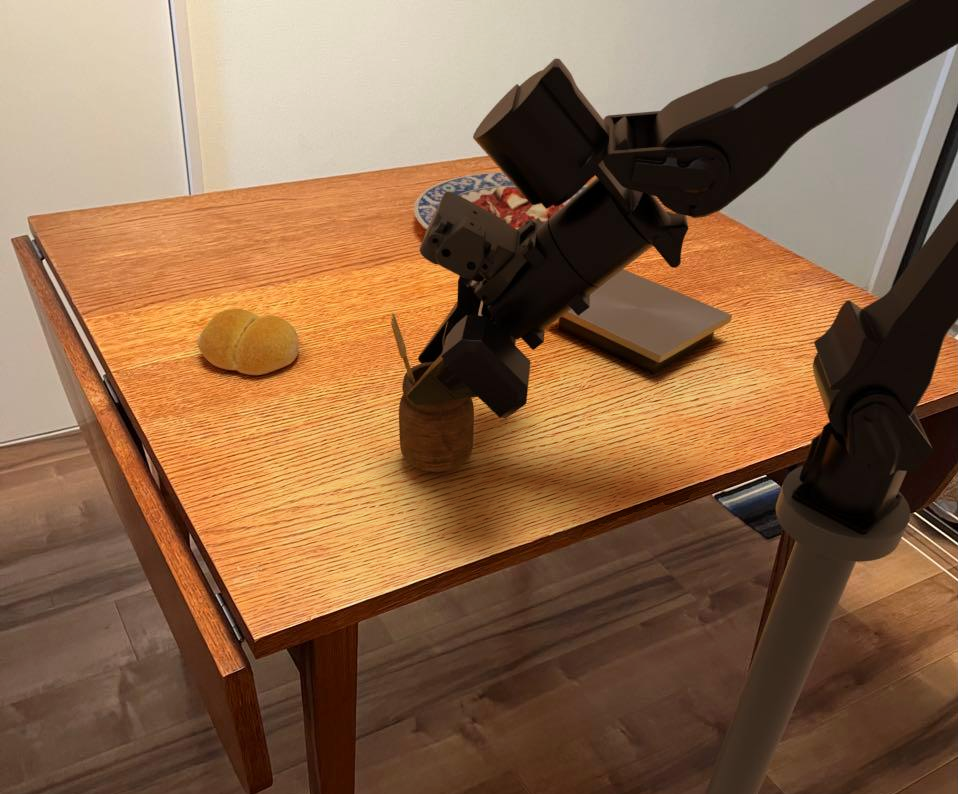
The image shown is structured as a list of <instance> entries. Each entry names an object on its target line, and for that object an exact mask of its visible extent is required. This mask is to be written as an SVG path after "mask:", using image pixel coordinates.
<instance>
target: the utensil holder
mask: <svg viewBox="0 0 958 794" xmlns="http://www.w3.org/2000/svg"><path fill="white" fill-rule="evenodd" d="M390 319H391V320H390V326H391V329H392V332H393V335H394V340H395V344H396V345H397V346H396V347H397V350H398V354H399V357H400V358H401V359H402V360H403V363H404V367H405V369H406V371H405V373H404V376H403V379H402V385H401V387H402V388H401V389H402V395H401V398H400V400H399V405H398V431H399V433H398V435H399V448H400V452H401V455H402V457H403V458H404V460H405V461H406V462H407V463H408V464H409V465H411V466H412V467H414V468H416V469H418V470H422V471H425V472H432V473H433V472H435V473H442V472H448V471H452V470H454V469H457V468H459V467H461V466H463V465H464V464H465V463H467V461H468V460H469V459H470V457H471V455H472V452H473V448H474V434H475V433H474V431H475V406H474V402H473V397H471V398H462V399H455V400H449V401H443V402H437V403H430V404H424V405H418V406H417V405H414V404H413V403H412V402H411V401H410V400H409V399H408V398H407V394H408V392H409V391H410V390H411V388H412V387H413V386H414V385H415V384H416V382H417V381H418V380H419V379H420V378H421V377H422V375H423V374H424V373H425V372H426V371H427V370H428V369H429V367H430V366H431V365H432V364H433V363H434V362H426V363H422V364H421V363H419V364H416V365H414V366H412V367H411V365H410V361H409V358H408V355H407V347H406V343H405V341H404V337H403V335H402V332H401V329H400V327H399V324H398V320H397V317H396V315H395V313H394V312H391V317H390Z"/></svg>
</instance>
